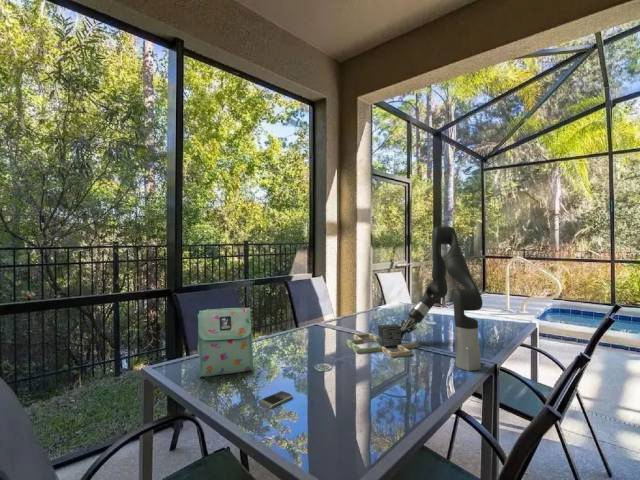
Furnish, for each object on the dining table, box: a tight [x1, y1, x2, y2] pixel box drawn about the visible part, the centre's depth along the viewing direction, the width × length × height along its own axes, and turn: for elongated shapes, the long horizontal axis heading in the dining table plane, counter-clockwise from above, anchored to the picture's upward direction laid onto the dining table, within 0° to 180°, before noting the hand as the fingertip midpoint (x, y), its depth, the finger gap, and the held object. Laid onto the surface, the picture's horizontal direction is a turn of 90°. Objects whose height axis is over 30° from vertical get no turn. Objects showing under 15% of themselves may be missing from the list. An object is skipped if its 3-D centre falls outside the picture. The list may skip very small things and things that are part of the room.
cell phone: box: [258, 391, 294, 410], centre depth 118 cm, size 6×11×1 cm, turn 137°
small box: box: [377, 323, 402, 349], centre depth 181 cm, size 11×6×10 cm, turn 101°
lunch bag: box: [197, 307, 254, 378], centre depth 149 cm, size 23×16×27 cm
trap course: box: [345, 332, 419, 358], centre depth 181 cm, size 37×33×3 cm
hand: (398, 336), depth 184 cm, fingers closed
